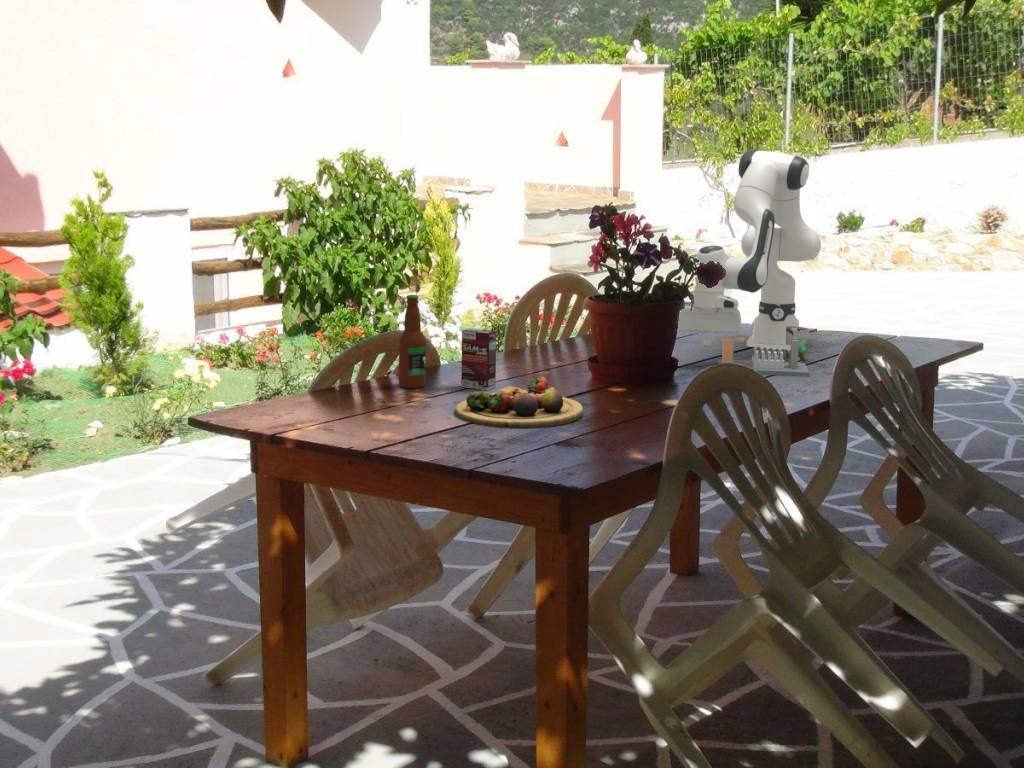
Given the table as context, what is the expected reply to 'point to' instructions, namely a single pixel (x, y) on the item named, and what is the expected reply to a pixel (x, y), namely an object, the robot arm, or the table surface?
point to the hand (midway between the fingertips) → (706, 346)
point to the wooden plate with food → (520, 407)
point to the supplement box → (478, 359)
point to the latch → (730, 347)
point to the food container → (802, 337)
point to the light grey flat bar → (769, 345)
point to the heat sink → (776, 362)
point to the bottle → (412, 348)
